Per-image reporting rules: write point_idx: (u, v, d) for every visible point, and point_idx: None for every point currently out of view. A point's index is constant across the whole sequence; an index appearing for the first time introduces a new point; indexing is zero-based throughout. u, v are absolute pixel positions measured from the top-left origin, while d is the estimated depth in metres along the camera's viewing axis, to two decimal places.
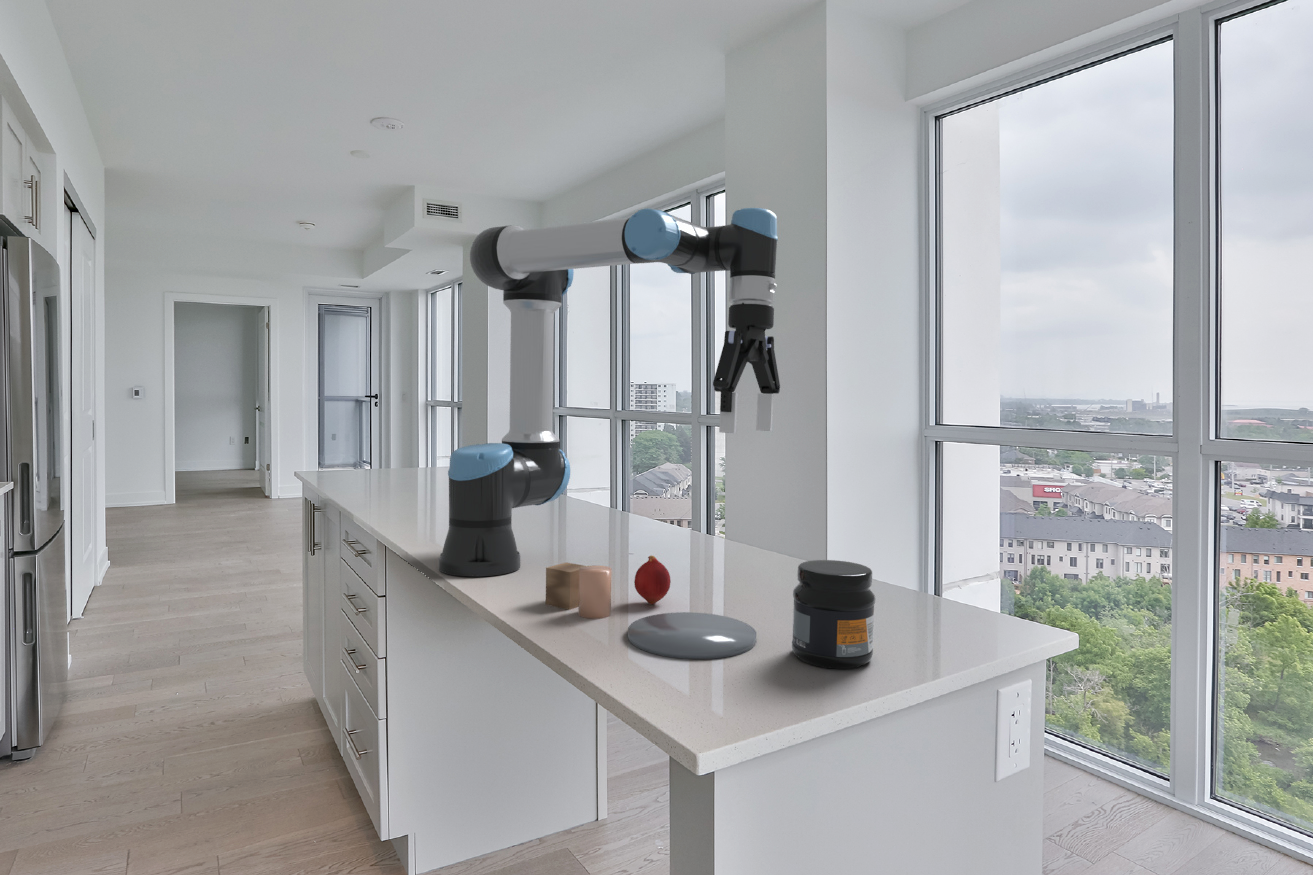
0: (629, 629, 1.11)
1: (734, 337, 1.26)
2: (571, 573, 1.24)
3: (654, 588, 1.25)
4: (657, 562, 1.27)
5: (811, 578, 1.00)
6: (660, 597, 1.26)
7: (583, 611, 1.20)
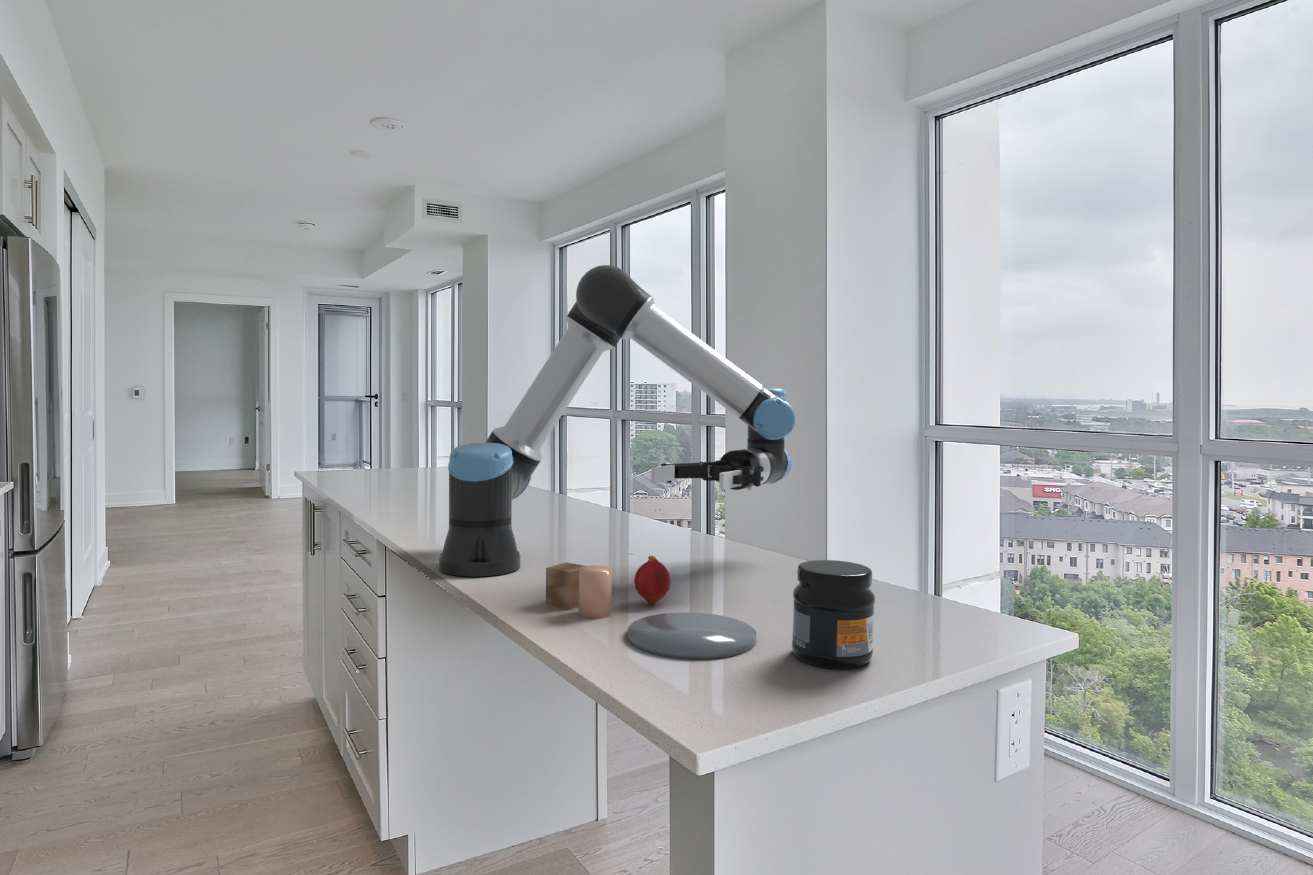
0: (629, 629, 1.11)
1: (762, 477, 1.44)
2: (571, 573, 1.24)
3: (654, 588, 1.25)
4: (657, 562, 1.27)
5: (811, 578, 1.00)
6: (660, 597, 1.26)
7: (583, 611, 1.20)
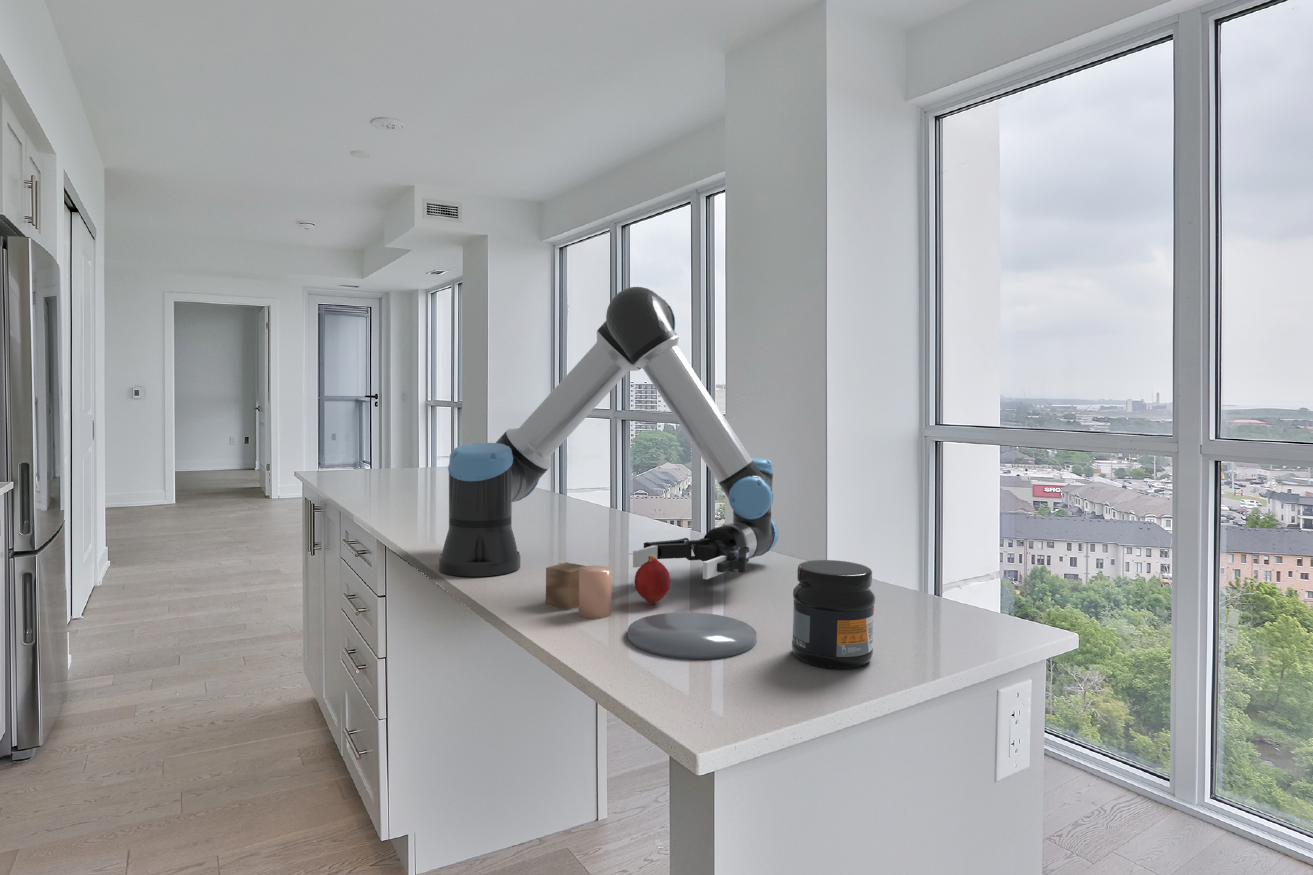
0: (629, 629, 1.11)
1: (747, 558, 1.40)
2: (571, 573, 1.24)
3: (654, 588, 1.25)
4: (657, 562, 1.27)
5: (811, 578, 1.00)
6: (660, 597, 1.26)
7: (583, 611, 1.20)
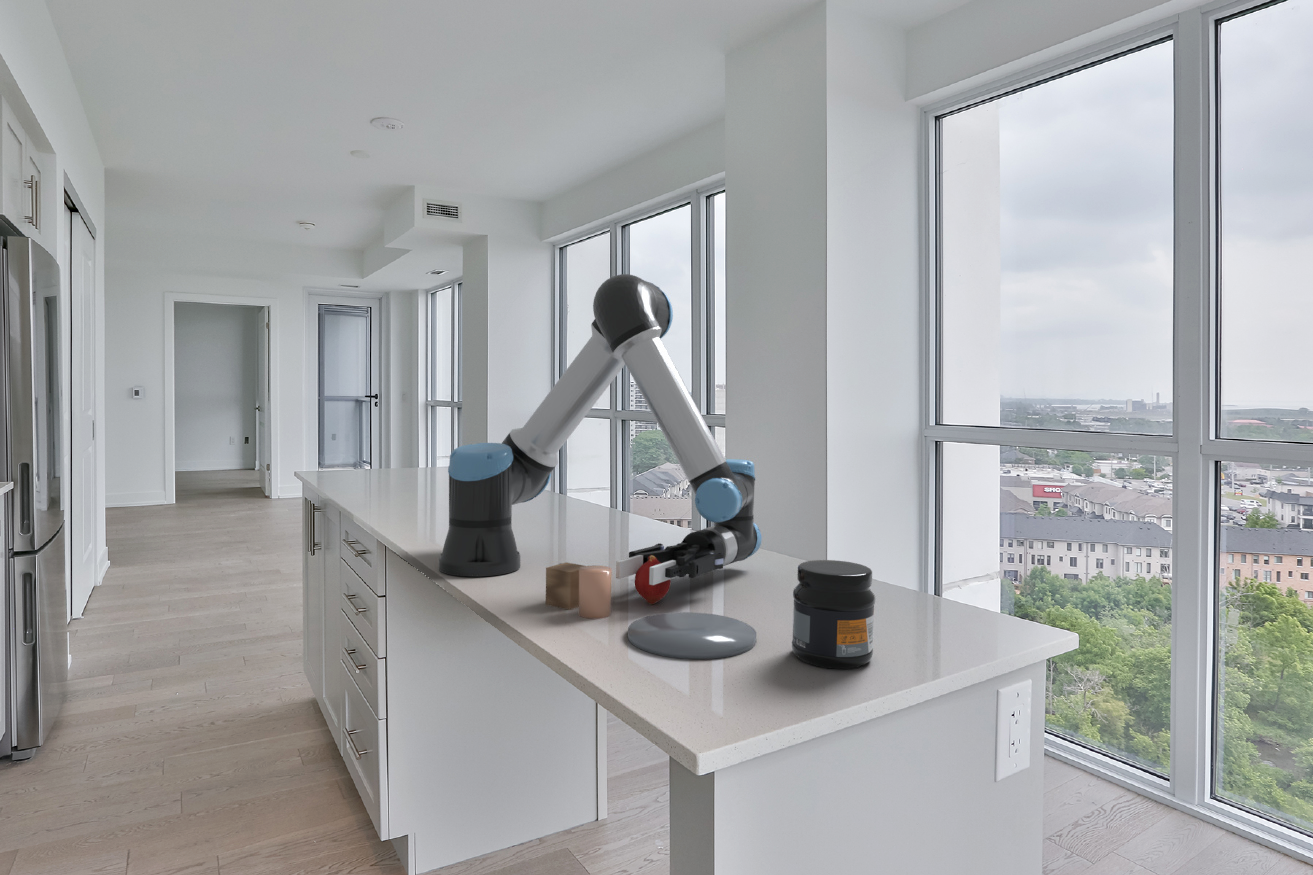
0: (629, 629, 1.11)
1: (719, 564, 1.33)
2: (571, 573, 1.24)
3: (654, 588, 1.25)
4: (657, 562, 1.27)
5: (811, 578, 1.00)
6: (660, 597, 1.26)
7: (583, 611, 1.20)
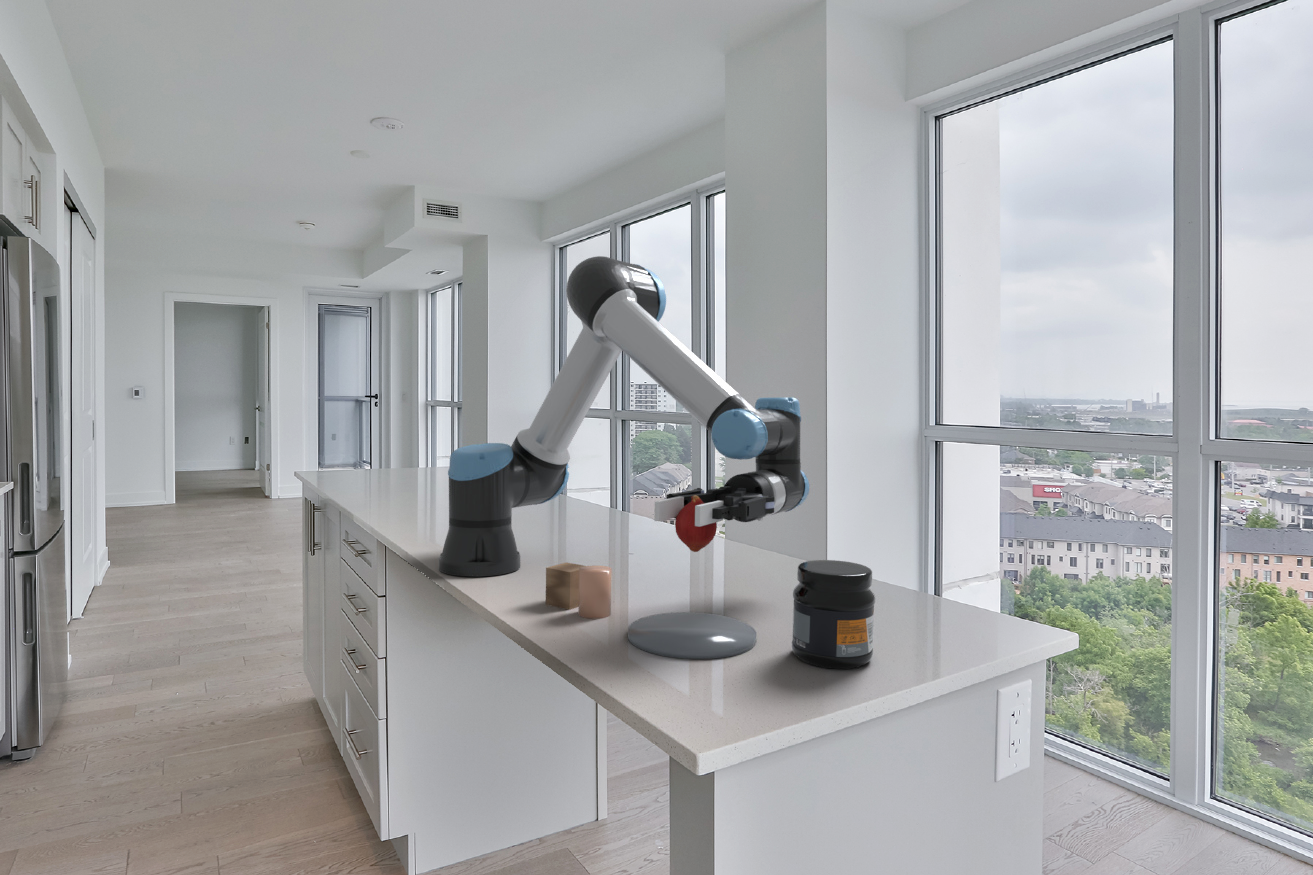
0: (629, 629, 1.11)
1: (770, 508, 1.16)
2: (571, 573, 1.24)
3: (699, 532, 1.08)
4: (702, 503, 1.10)
5: (811, 578, 1.00)
6: (705, 543, 1.09)
7: (583, 611, 1.20)
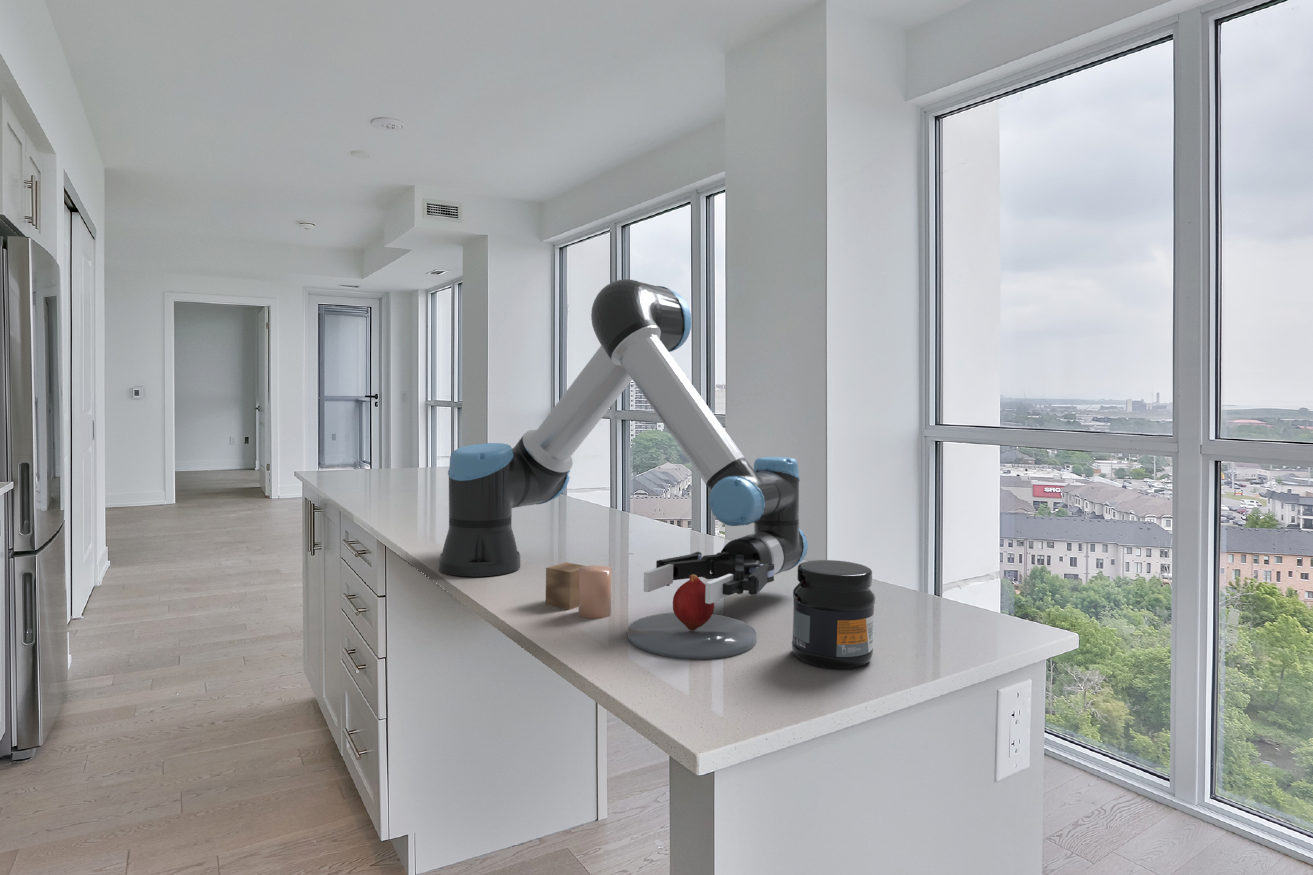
0: (629, 629, 1.11)
1: (771, 577, 1.16)
2: (571, 573, 1.24)
3: (696, 613, 1.08)
4: (700, 582, 1.10)
5: (811, 578, 1.00)
6: (702, 623, 1.09)
7: (583, 611, 1.20)
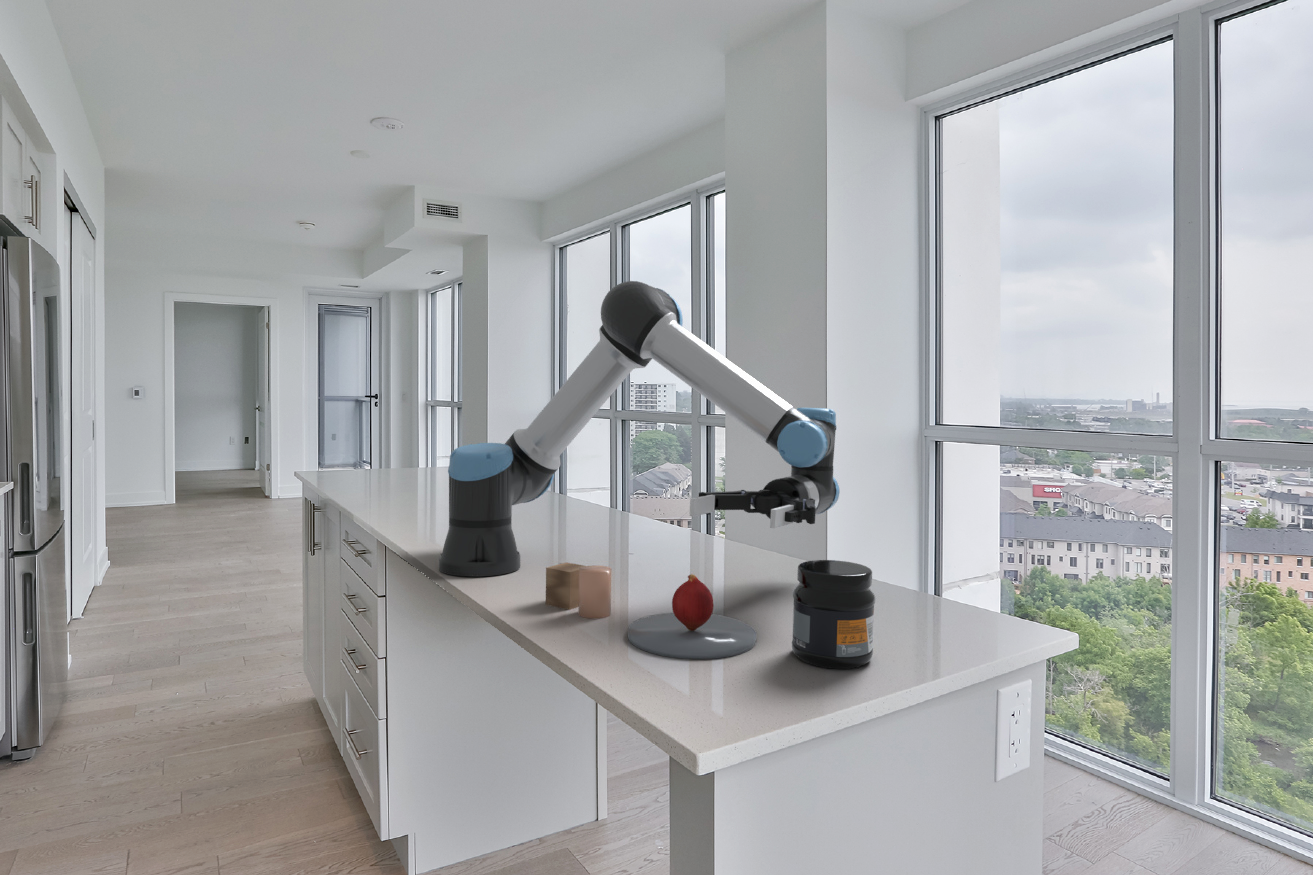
0: (629, 629, 1.11)
1: None
2: (571, 573, 1.24)
3: (696, 612, 1.08)
4: (698, 582, 1.10)
5: (811, 578, 1.00)
6: (702, 623, 1.09)
7: (583, 611, 1.20)
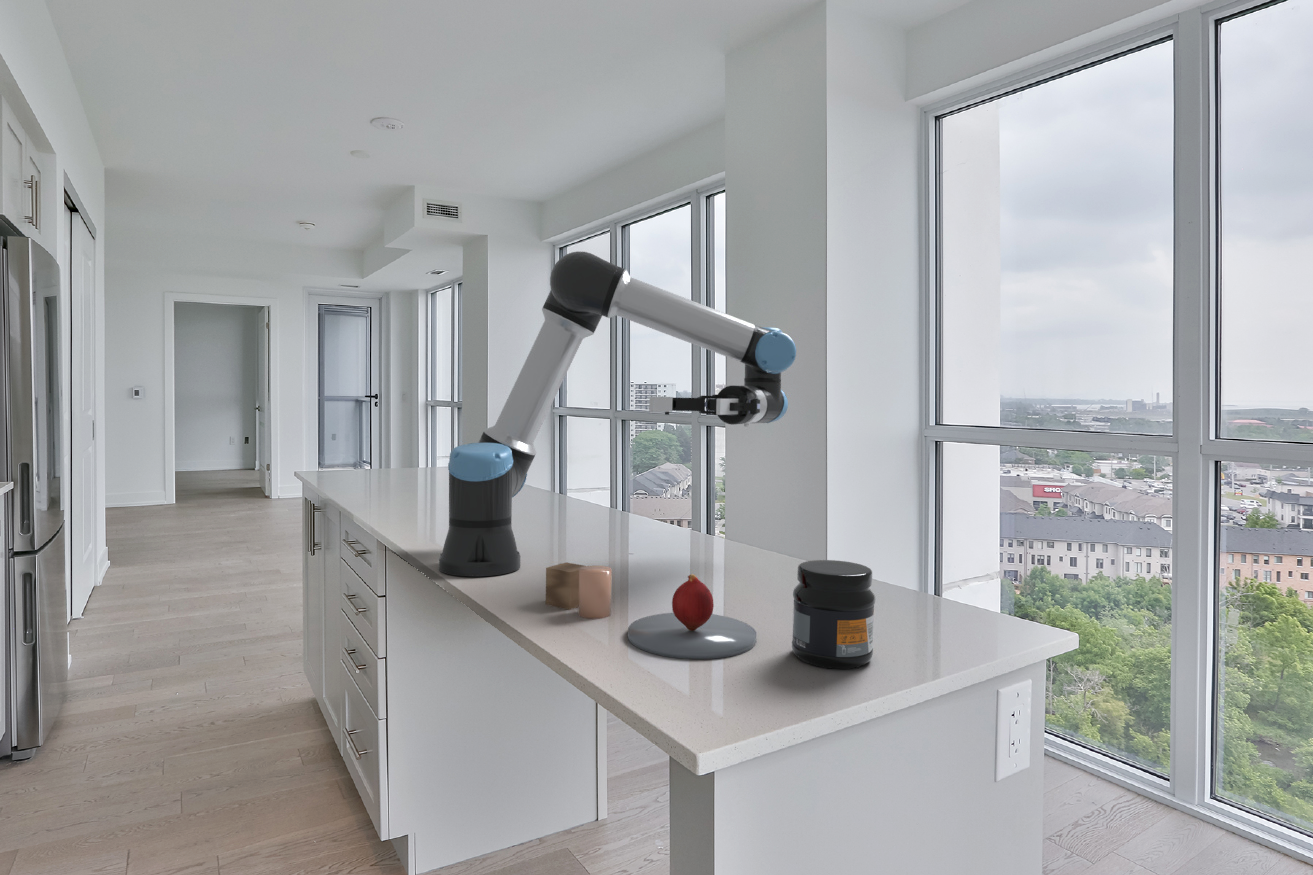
0: (629, 629, 1.11)
1: (758, 409, 1.46)
2: (571, 573, 1.24)
3: (696, 612, 1.08)
4: (698, 582, 1.10)
5: (811, 578, 1.00)
6: (702, 623, 1.09)
7: (583, 611, 1.20)
